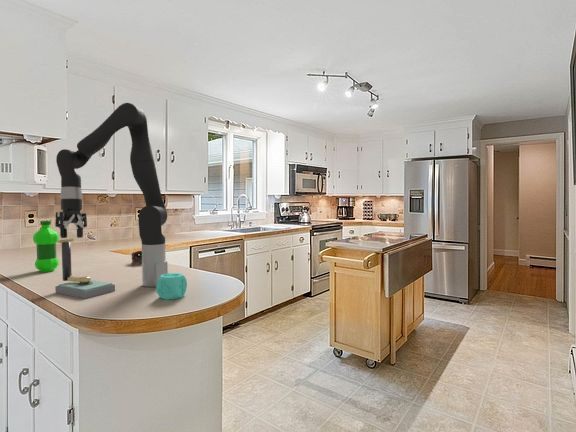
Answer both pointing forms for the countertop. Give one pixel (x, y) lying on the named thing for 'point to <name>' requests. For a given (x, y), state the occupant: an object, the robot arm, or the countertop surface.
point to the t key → (67, 263)
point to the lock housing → (85, 289)
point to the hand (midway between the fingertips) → (72, 237)
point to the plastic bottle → (46, 247)
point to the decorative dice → (171, 286)
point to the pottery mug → (136, 257)
